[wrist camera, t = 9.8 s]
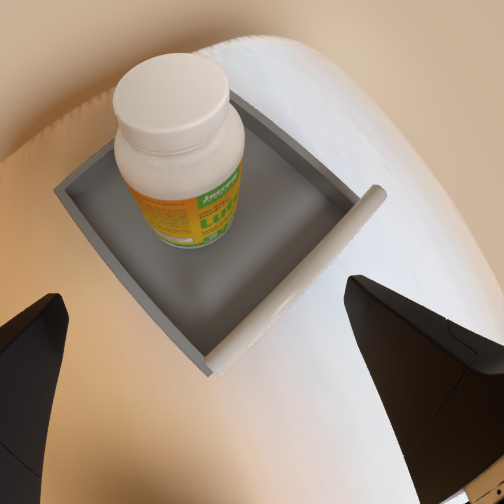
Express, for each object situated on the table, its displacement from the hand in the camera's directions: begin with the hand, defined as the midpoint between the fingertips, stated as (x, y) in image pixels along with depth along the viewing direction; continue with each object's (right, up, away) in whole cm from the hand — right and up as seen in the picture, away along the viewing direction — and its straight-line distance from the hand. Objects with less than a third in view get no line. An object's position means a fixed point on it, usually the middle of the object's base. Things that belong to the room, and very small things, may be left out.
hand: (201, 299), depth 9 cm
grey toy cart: (-2, +3, +13) cm, 13 cm away
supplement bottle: (-2, +4, +9) cm, 10 cm away
